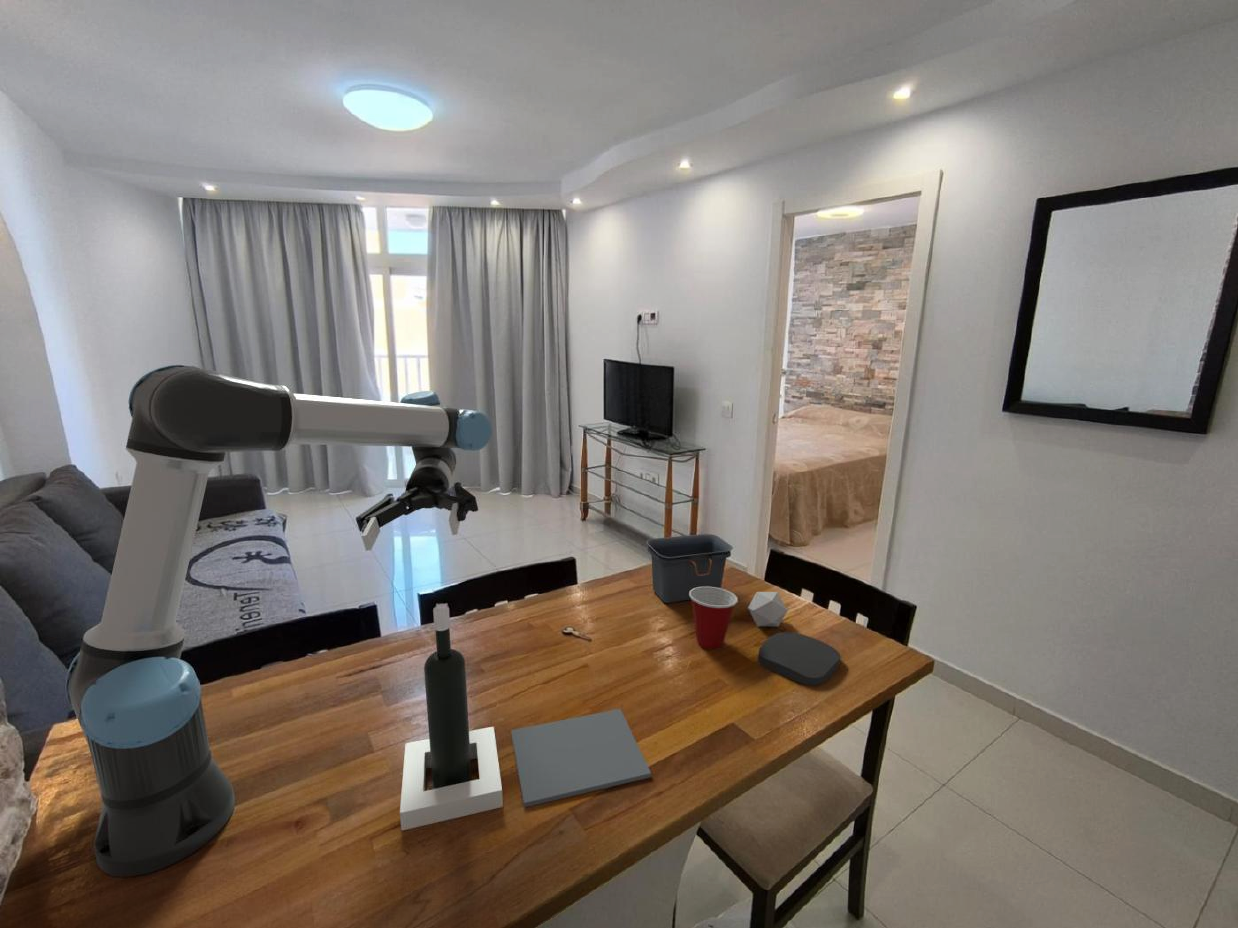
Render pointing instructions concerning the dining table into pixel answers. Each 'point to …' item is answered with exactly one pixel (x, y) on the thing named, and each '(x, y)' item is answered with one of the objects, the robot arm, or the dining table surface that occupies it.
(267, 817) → the dining table surface
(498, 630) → the dining table surface
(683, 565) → the storage bin
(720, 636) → the plastic cup
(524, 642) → the dining table surface
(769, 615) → the die
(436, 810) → the frame
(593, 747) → the coaster mat
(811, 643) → the media streaming box
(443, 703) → the wine bottle
